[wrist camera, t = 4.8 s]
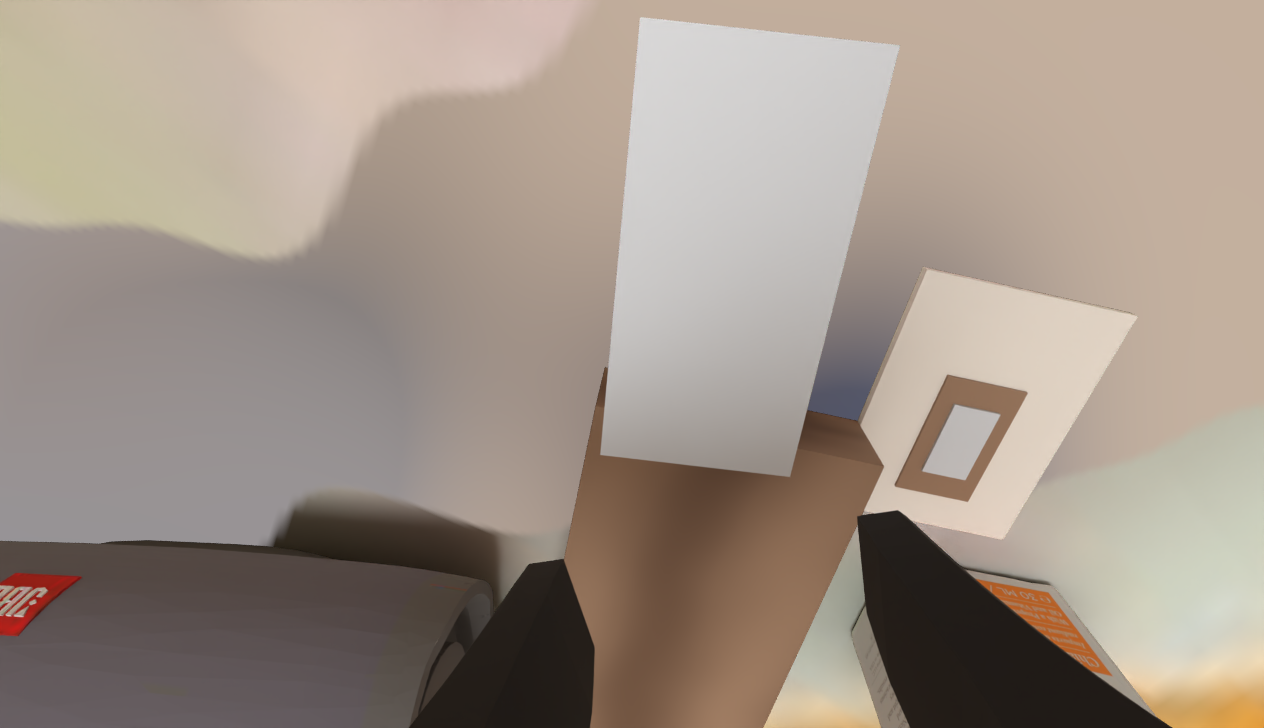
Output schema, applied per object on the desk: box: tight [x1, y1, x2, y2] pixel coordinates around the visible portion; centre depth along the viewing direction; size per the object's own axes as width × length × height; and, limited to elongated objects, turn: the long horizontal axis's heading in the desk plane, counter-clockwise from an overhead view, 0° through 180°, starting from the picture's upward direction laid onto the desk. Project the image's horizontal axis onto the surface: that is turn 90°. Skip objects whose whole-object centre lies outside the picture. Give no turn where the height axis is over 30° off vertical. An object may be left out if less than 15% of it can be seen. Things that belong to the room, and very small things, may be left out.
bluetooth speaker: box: [0, 540, 494, 728], centre depth 18 cm, size 23×9×10 cm, turn 89°
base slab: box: [564, 367, 884, 728], centre depth 20 cm, size 8×14×2 cm, turn 168°
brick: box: [600, 17, 900, 477], centre depth 13 cm, size 4×8×6 cm, turn 174°
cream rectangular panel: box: [858, 267, 1138, 540], centre depth 18 cm, size 6×8×1 cm
